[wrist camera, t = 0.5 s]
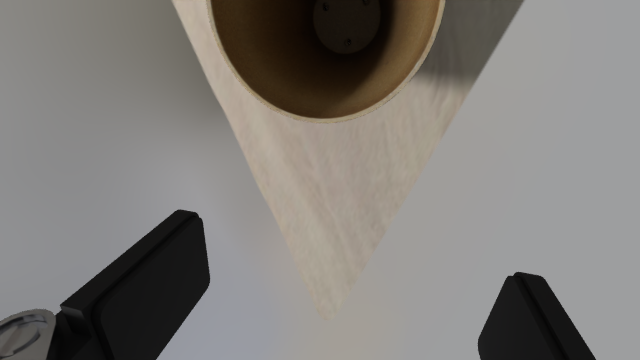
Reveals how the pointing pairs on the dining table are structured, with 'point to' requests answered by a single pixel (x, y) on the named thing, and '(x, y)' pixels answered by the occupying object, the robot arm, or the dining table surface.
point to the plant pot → (324, 51)
